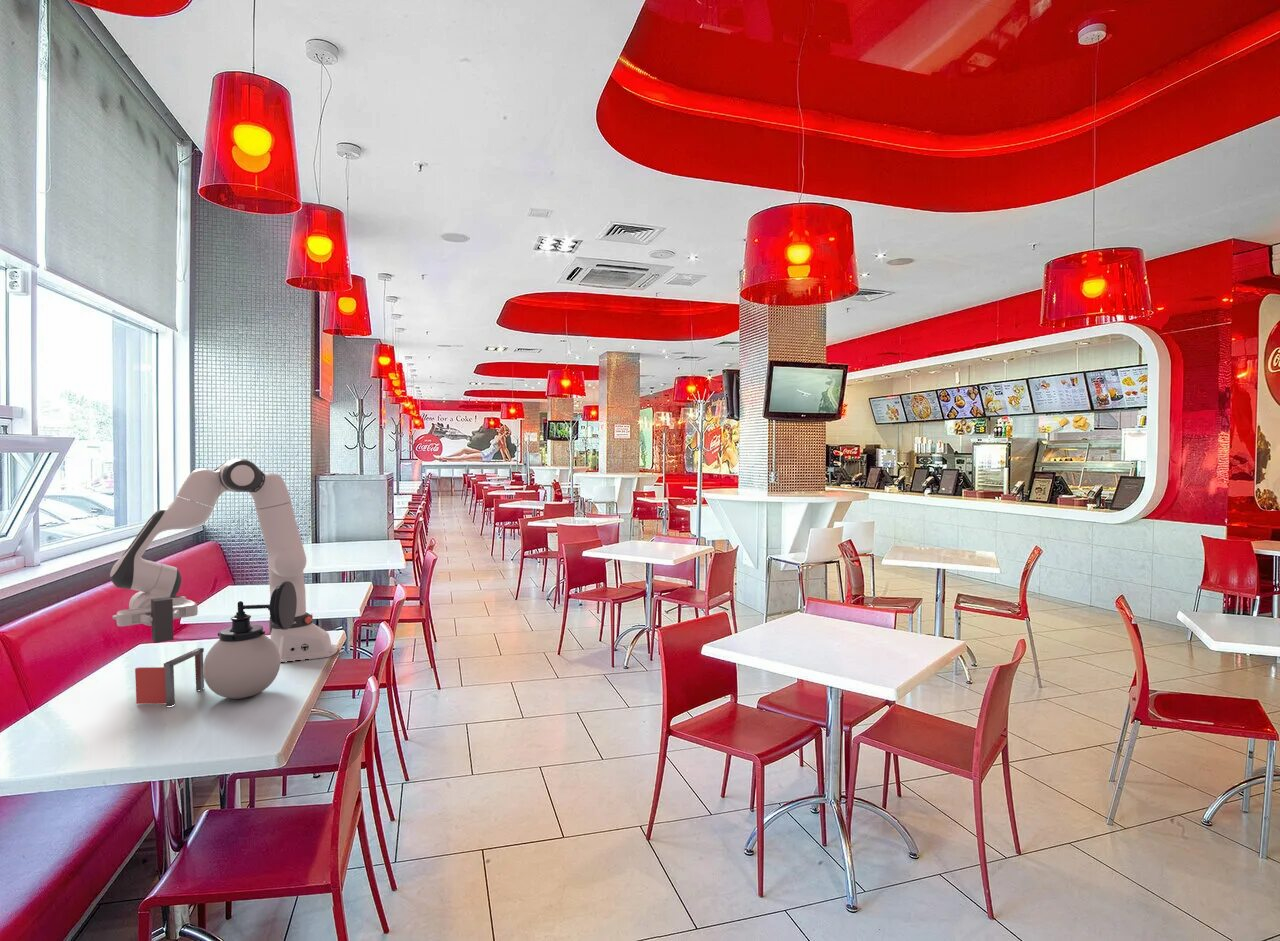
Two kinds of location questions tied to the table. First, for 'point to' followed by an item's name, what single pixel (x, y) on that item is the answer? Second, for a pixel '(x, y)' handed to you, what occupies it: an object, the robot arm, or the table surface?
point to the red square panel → (150, 685)
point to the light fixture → (249, 649)
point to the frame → (170, 673)
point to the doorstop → (162, 619)
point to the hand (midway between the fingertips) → (162, 618)
